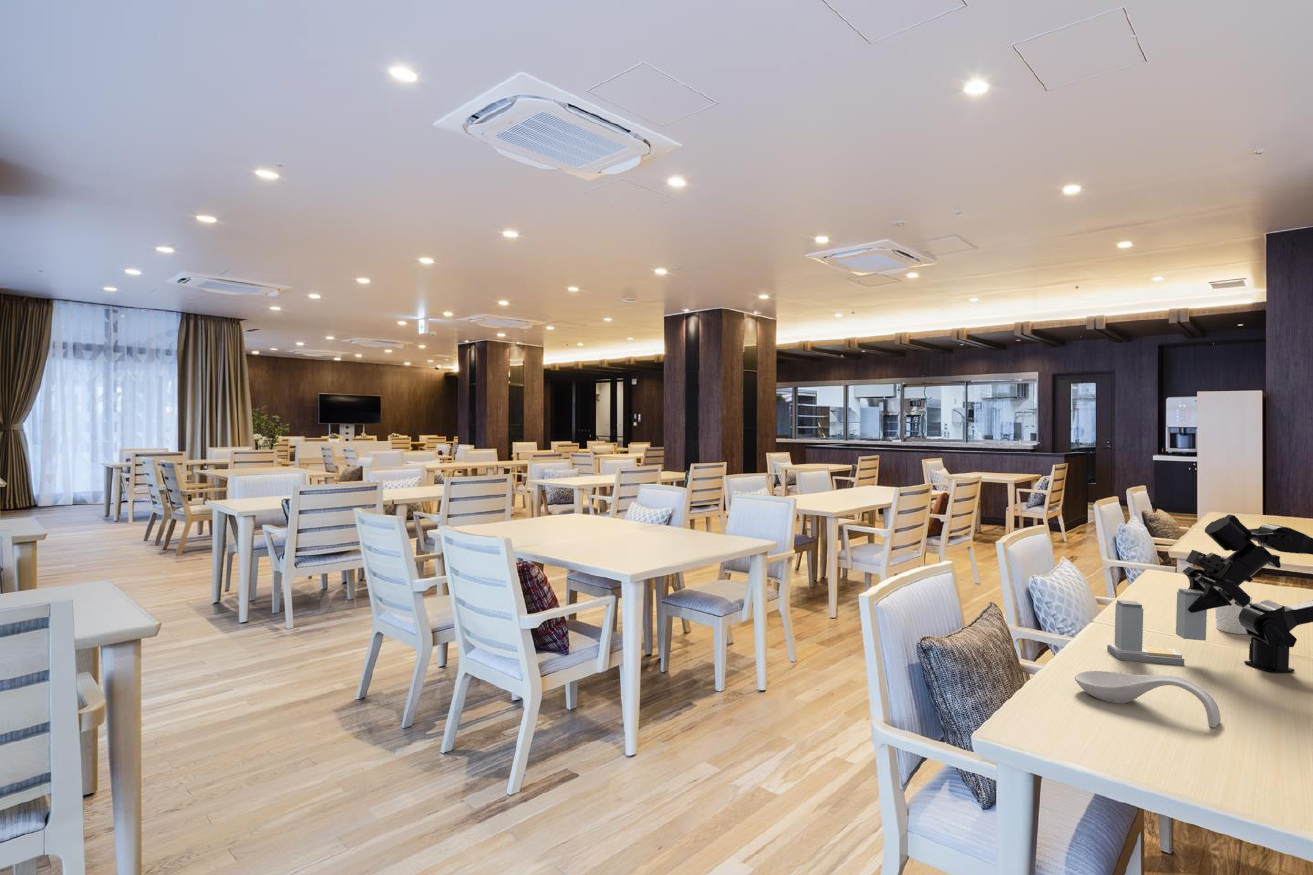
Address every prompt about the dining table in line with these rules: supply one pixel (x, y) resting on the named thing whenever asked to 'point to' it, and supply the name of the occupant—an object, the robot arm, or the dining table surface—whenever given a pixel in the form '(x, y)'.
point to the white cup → (1230, 618)
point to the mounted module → (1129, 625)
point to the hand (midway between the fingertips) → (1184, 608)
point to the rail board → (1147, 655)
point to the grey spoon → (1141, 688)
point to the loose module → (1190, 616)
